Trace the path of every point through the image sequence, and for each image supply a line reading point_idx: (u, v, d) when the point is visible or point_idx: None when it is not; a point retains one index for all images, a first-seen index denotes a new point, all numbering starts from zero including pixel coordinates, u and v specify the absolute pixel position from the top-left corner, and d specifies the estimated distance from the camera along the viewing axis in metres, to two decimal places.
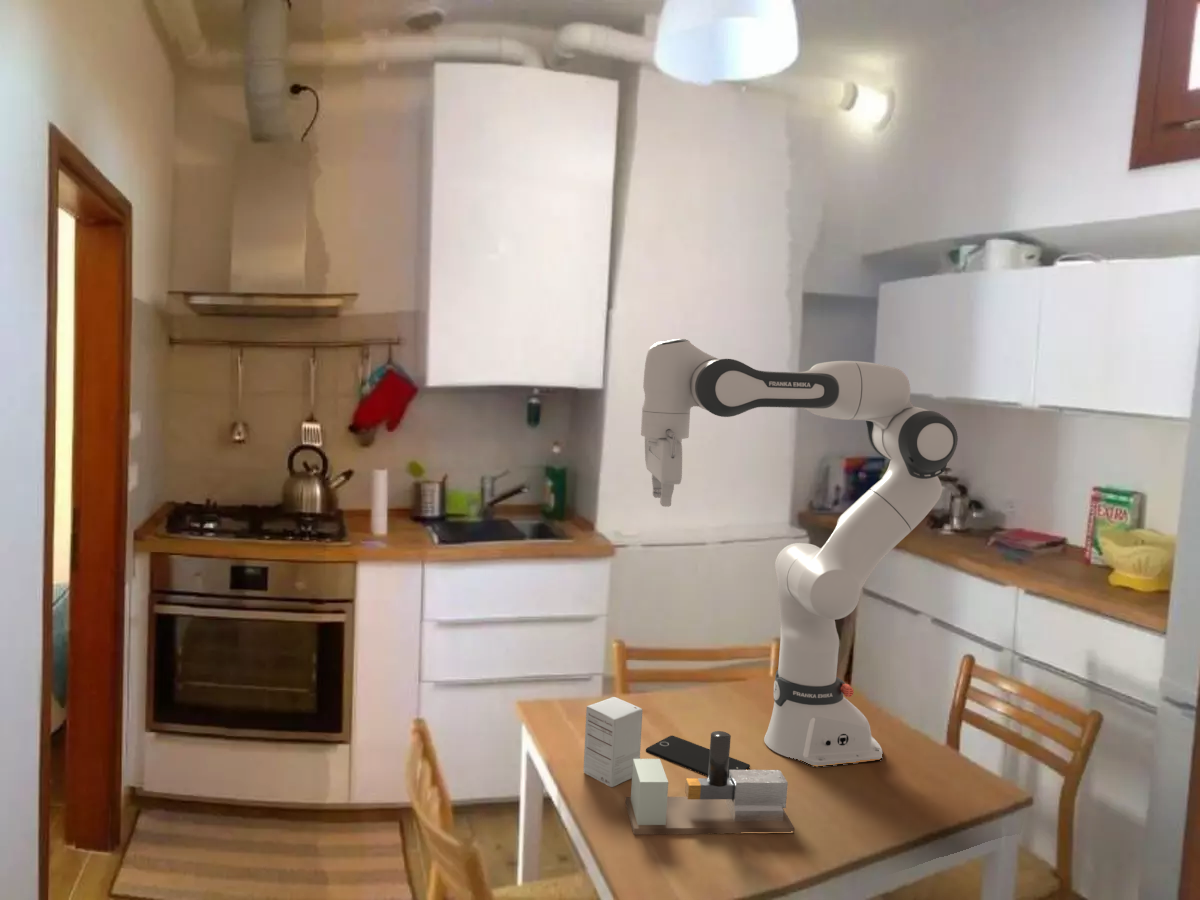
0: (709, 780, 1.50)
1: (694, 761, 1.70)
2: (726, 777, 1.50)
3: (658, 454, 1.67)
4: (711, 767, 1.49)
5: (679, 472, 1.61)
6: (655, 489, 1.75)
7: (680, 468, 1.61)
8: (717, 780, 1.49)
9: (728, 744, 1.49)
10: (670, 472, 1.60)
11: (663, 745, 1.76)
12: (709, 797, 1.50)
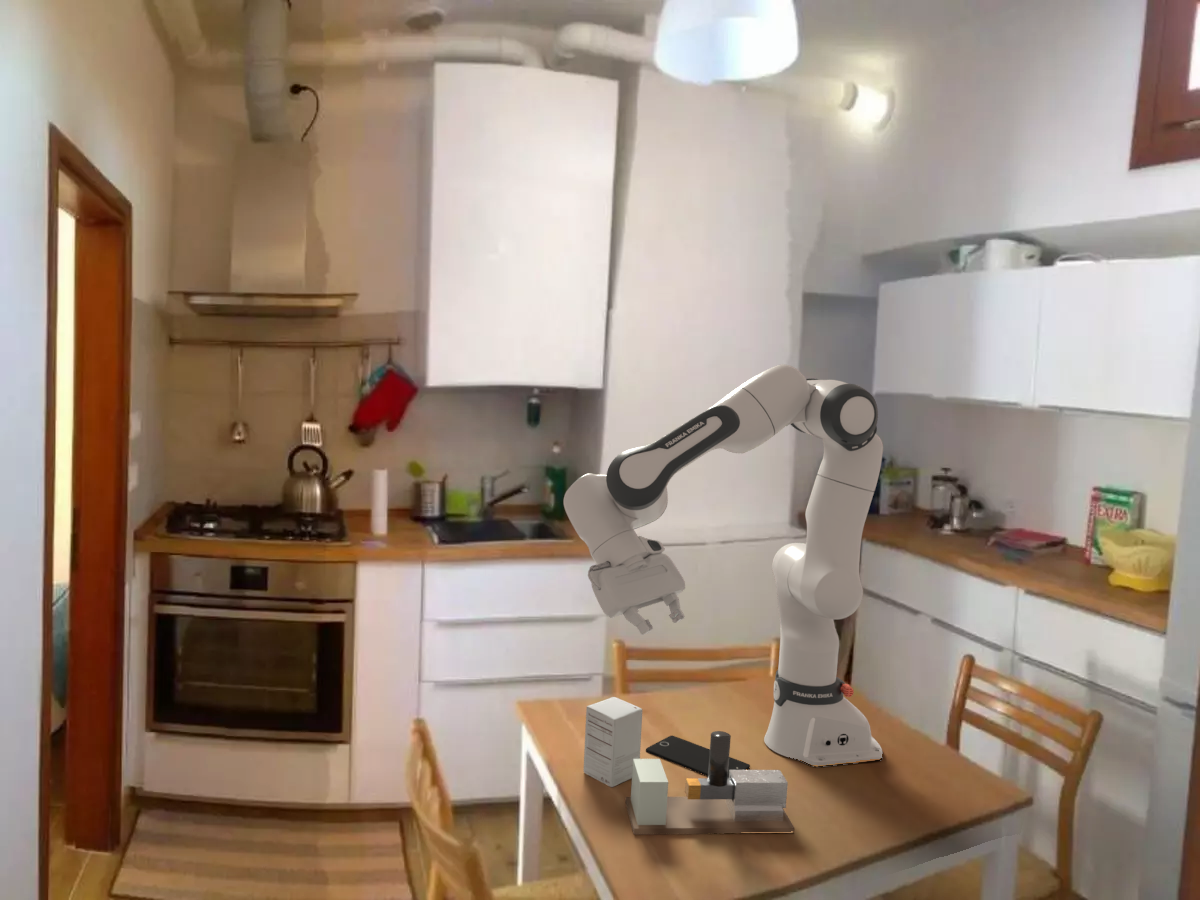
0: (709, 780, 1.50)
1: (694, 761, 1.70)
2: (726, 777, 1.50)
3: None
4: (711, 767, 1.49)
5: (611, 597, 1.50)
6: (670, 615, 1.60)
7: (610, 594, 1.50)
8: (717, 780, 1.49)
9: (728, 744, 1.49)
10: (605, 604, 1.50)
11: (663, 745, 1.76)
12: (709, 797, 1.50)
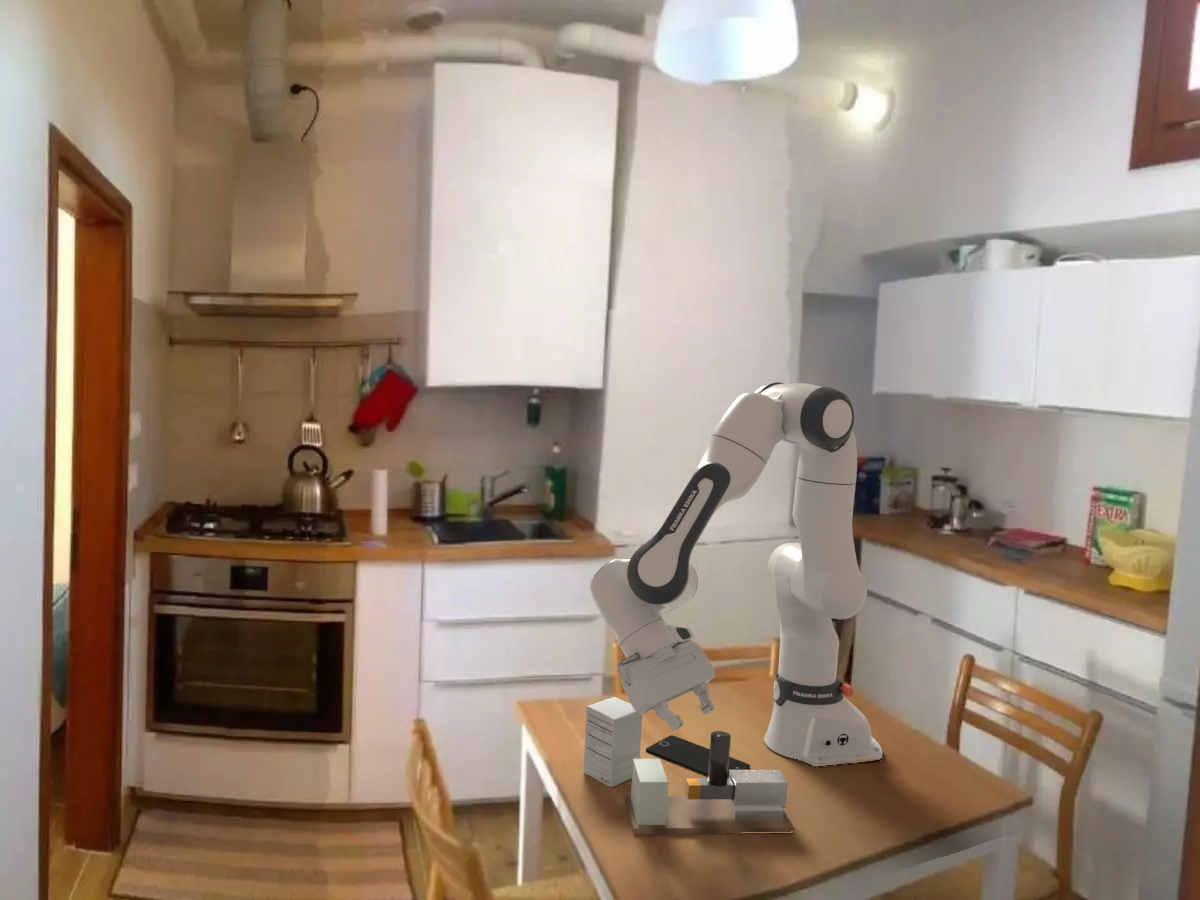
0: (709, 780, 1.50)
1: (694, 761, 1.70)
2: (726, 777, 1.50)
3: None
4: (711, 767, 1.49)
5: (641, 694, 1.47)
6: (700, 706, 1.57)
7: (640, 690, 1.47)
8: (717, 780, 1.49)
9: (728, 744, 1.49)
10: (635, 700, 1.48)
11: (663, 745, 1.76)
12: (709, 797, 1.50)
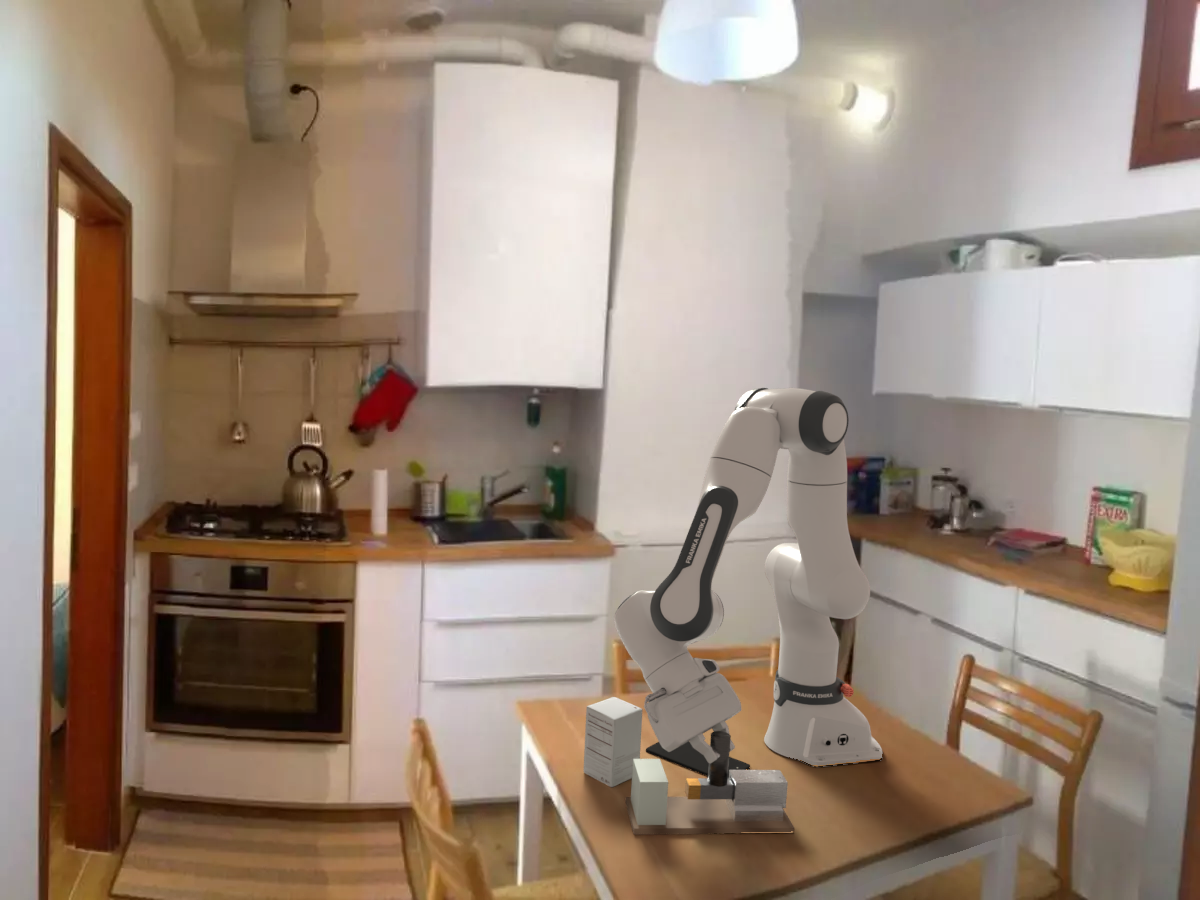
0: (709, 780, 1.50)
1: (694, 761, 1.70)
2: (726, 777, 1.50)
3: None
4: (711, 767, 1.49)
5: (669, 732, 1.44)
6: None
7: (668, 728, 1.44)
8: (717, 780, 1.49)
9: (728, 744, 1.49)
10: (663, 738, 1.45)
11: None
12: (709, 797, 1.50)
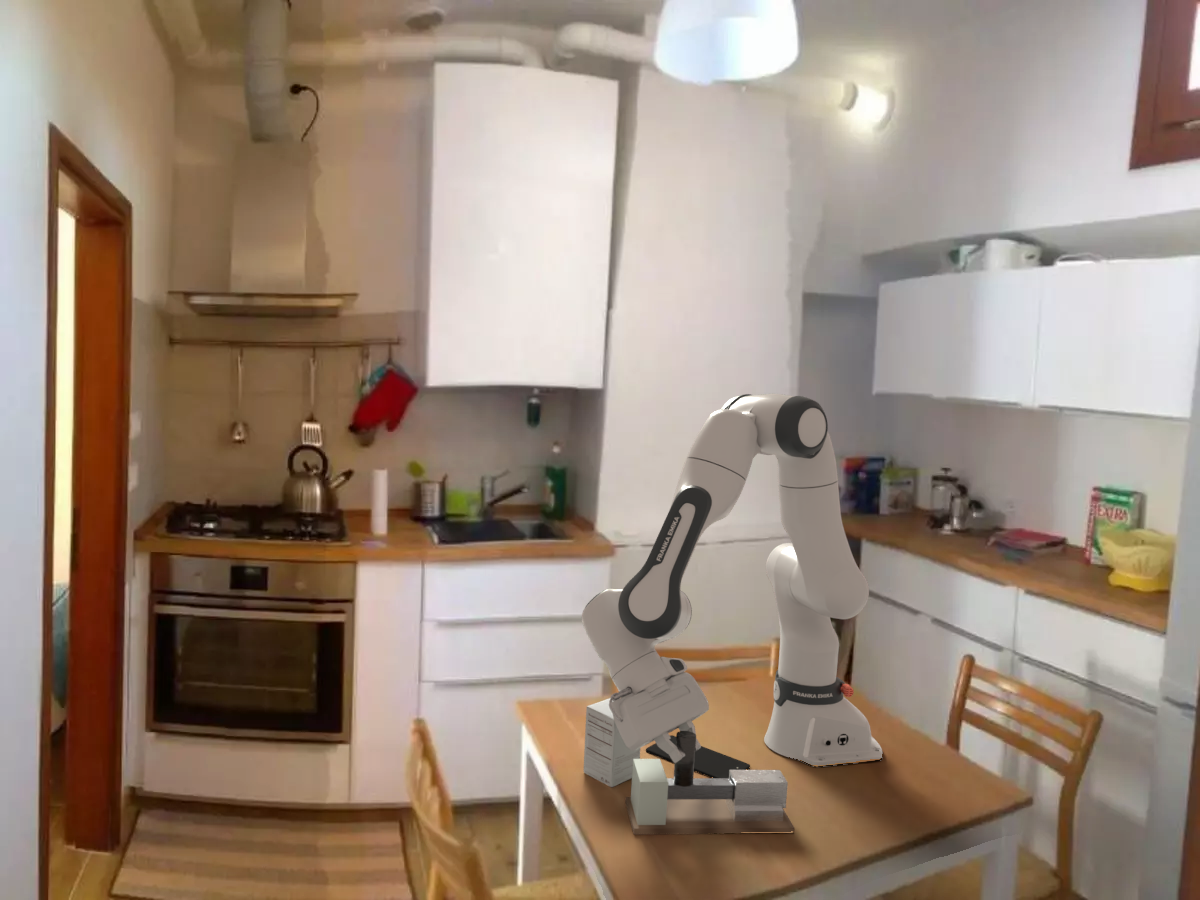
0: (675, 780, 1.49)
1: None
2: (692, 777, 1.49)
3: None
4: (676, 767, 1.49)
5: (633, 731, 1.43)
6: None
7: (632, 727, 1.43)
8: (682, 780, 1.48)
9: (693, 744, 1.48)
10: (627, 737, 1.44)
11: None
12: (675, 797, 1.49)
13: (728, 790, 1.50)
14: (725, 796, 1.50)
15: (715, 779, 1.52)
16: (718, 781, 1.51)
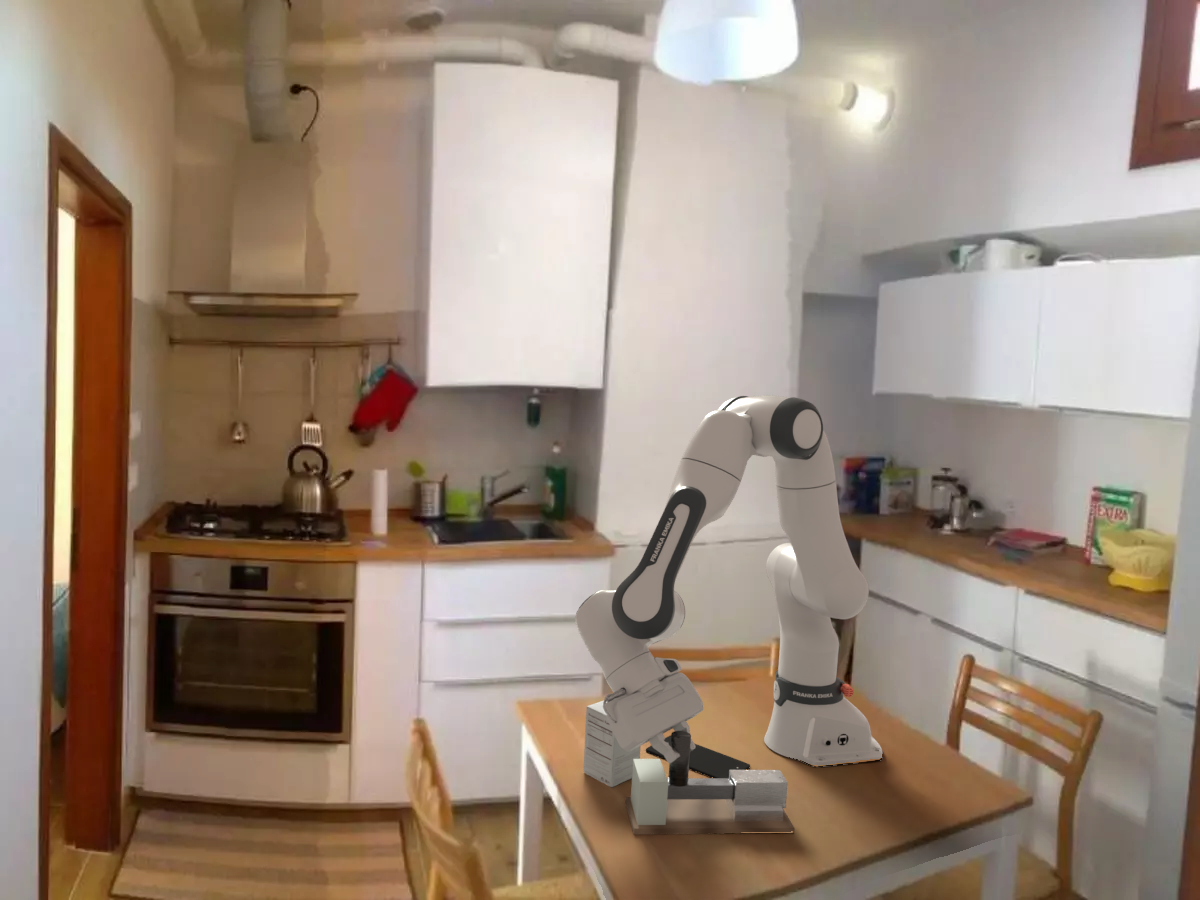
0: (669, 780, 1.49)
1: (694, 761, 1.70)
2: (686, 777, 1.49)
3: None
4: (671, 767, 1.49)
5: (628, 732, 1.43)
6: None
7: (626, 728, 1.43)
8: (677, 780, 1.48)
9: (688, 744, 1.48)
10: (622, 738, 1.44)
11: None
12: (669, 797, 1.49)
13: (723, 790, 1.50)
14: (720, 796, 1.50)
15: (710, 779, 1.51)
16: (713, 781, 1.51)
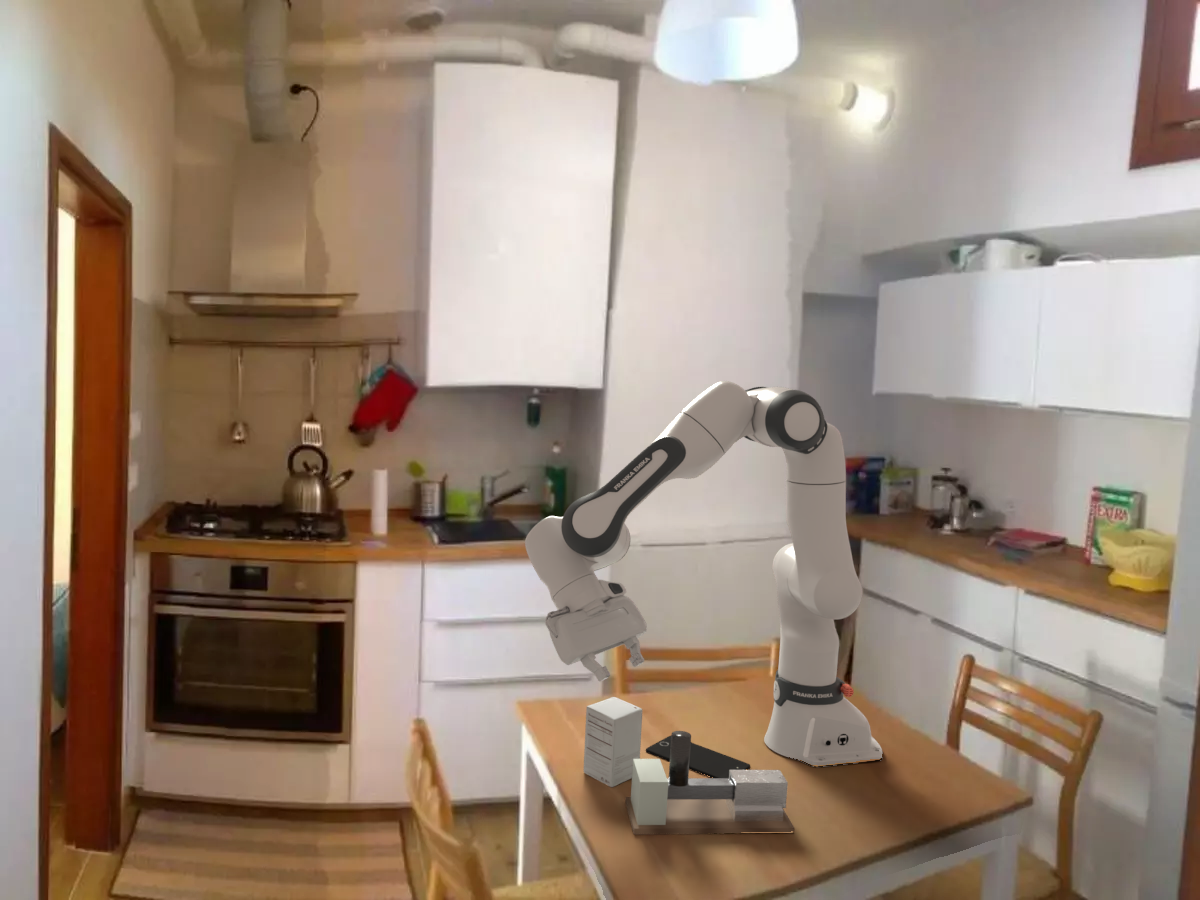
0: (670, 780, 1.49)
1: (694, 761, 1.70)
2: (687, 777, 1.49)
3: None
4: (671, 767, 1.49)
5: (567, 646, 1.50)
6: (630, 658, 1.60)
7: (566, 642, 1.50)
8: (677, 780, 1.48)
9: (688, 744, 1.48)
10: (562, 651, 1.51)
11: (663, 745, 1.76)
12: (669, 797, 1.49)
13: (723, 790, 1.50)
14: (720, 796, 1.50)
15: (710, 779, 1.51)
16: (713, 781, 1.51)
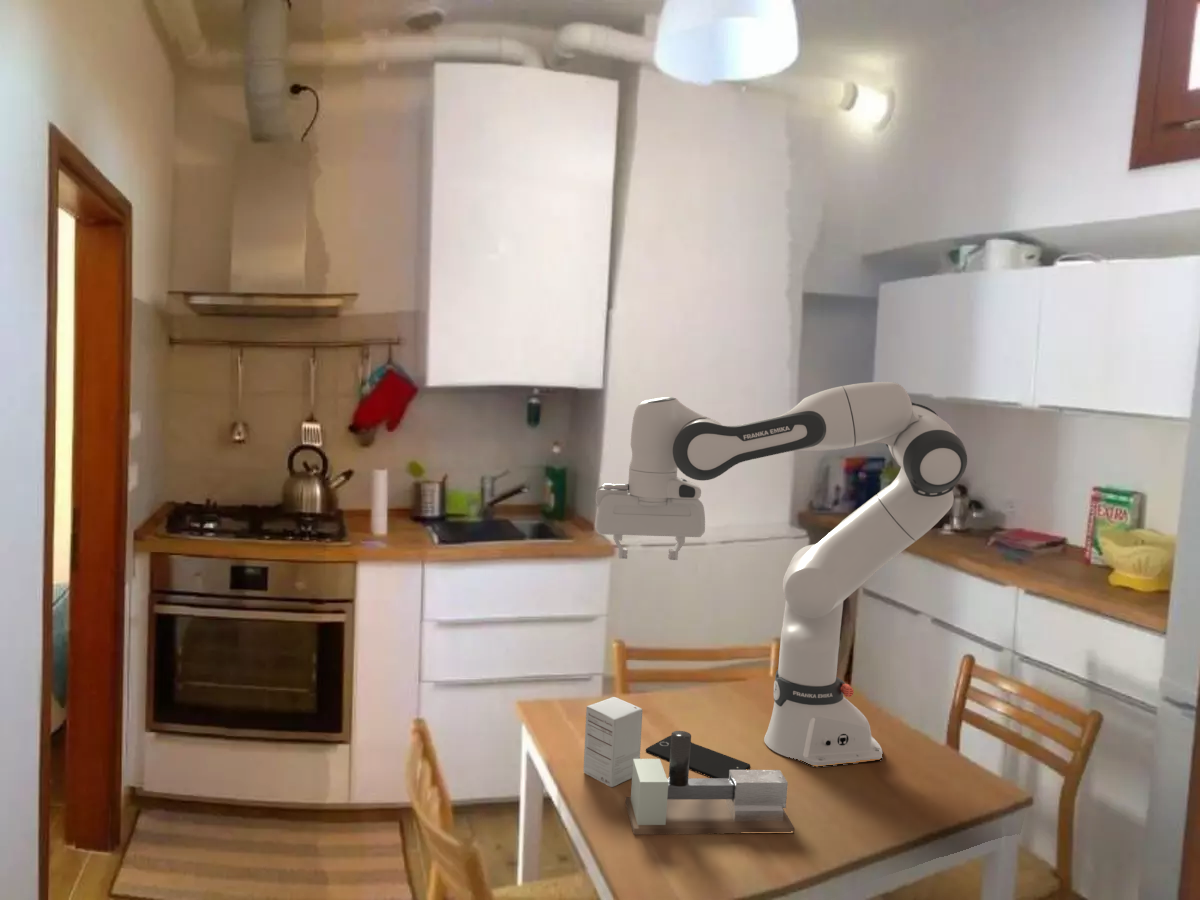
0: (670, 780, 1.49)
1: (694, 761, 1.70)
2: (687, 777, 1.49)
3: None
4: (671, 767, 1.49)
5: (597, 521, 1.67)
6: (669, 550, 1.71)
7: (597, 518, 1.67)
8: (677, 780, 1.48)
9: (688, 744, 1.48)
10: (595, 520, 1.69)
11: (663, 745, 1.76)
12: (669, 797, 1.49)
13: (723, 790, 1.50)
14: (720, 796, 1.50)
15: (710, 779, 1.51)
16: (713, 781, 1.51)
